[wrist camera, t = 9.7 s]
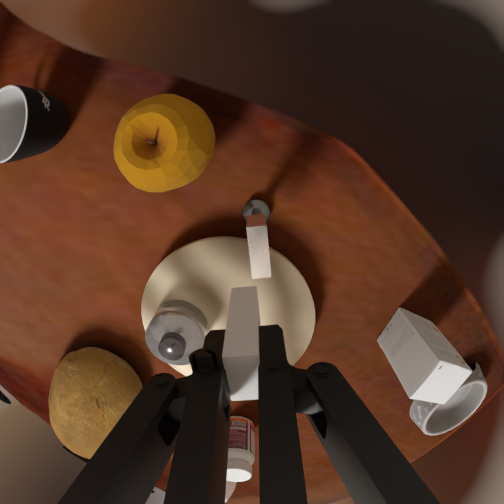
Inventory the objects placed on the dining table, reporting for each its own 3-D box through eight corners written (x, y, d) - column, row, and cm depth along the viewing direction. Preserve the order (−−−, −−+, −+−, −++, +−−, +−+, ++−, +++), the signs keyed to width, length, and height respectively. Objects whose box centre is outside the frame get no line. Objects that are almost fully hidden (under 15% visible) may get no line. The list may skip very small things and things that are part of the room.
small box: (375, 339, 41) (407, 399, 29) (398, 305, 39) (441, 359, 27) (410, 352, 42) (444, 405, 30) (432, 321, 40) (474, 370, 28)
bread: (162, 366, 43) (145, 412, 34) (122, 453, 53) (111, 485, 44) (62, 312, 40) (29, 347, 31) (54, 417, 50) (38, 446, 41)
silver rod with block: (246, 239, 36) (243, 279, 25) (241, 200, 34) (236, 224, 23) (271, 236, 36) (279, 276, 25) (268, 197, 34) (275, 220, 23)
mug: (87, 111, 30) (39, 105, 21) (55, 168, 33) (6, 179, 23) (39, 74, 28) (-7, 64, 18) (11, 127, 30) (-36, 129, 21)
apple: (174, 201, 35) (139, 226, 23) (124, 142, 32) (72, 143, 21) (238, 147, 33) (230, 146, 21) (185, 87, 30) (154, 59, 19)
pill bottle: (212, 422, 47) (206, 473, 36) (238, 409, 46) (235, 463, 35) (236, 437, 49) (234, 486, 38) (261, 425, 47) (262, 476, 37)
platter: (213, 403, 43) (211, 423, 39) (113, 292, 37) (99, 307, 33) (343, 344, 39) (351, 363, 35) (255, 199, 33) (255, 206, 29)
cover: (176, 353, 38) (168, 380, 33) (143, 315, 36) (129, 339, 31) (218, 332, 37) (214, 360, 32) (185, 290, 35) (174, 314, 30)
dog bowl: (457, 413, 50) (466, 428, 45) (396, 426, 50) (404, 444, 45) (491, 357, 45) (503, 372, 39) (430, 366, 44) (442, 385, 39)
